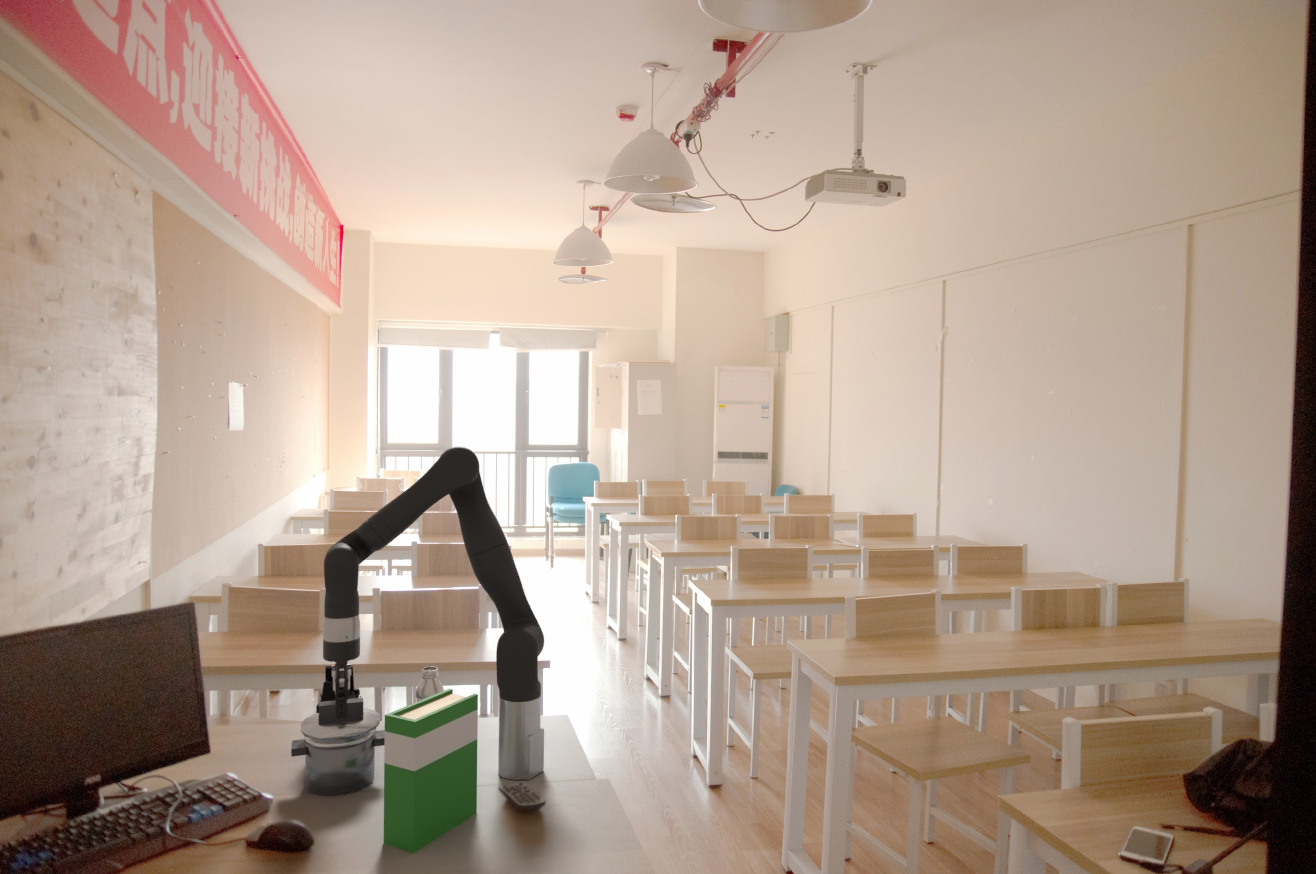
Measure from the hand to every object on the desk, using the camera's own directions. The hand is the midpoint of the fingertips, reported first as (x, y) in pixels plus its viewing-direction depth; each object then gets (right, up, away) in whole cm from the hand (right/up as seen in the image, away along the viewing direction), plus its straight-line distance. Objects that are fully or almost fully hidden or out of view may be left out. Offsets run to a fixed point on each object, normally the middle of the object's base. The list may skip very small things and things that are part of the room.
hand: (341, 715), depth 182 cm
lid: (0, -2, 0) cm, 2 cm away
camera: (-8, -14, +19) cm, 25 cm away
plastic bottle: (+15, -15, +17) cm, 27 cm away
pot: (0, -15, 0) cm, 15 cm away
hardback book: (+25, -16, -19) cm, 35 cm away
